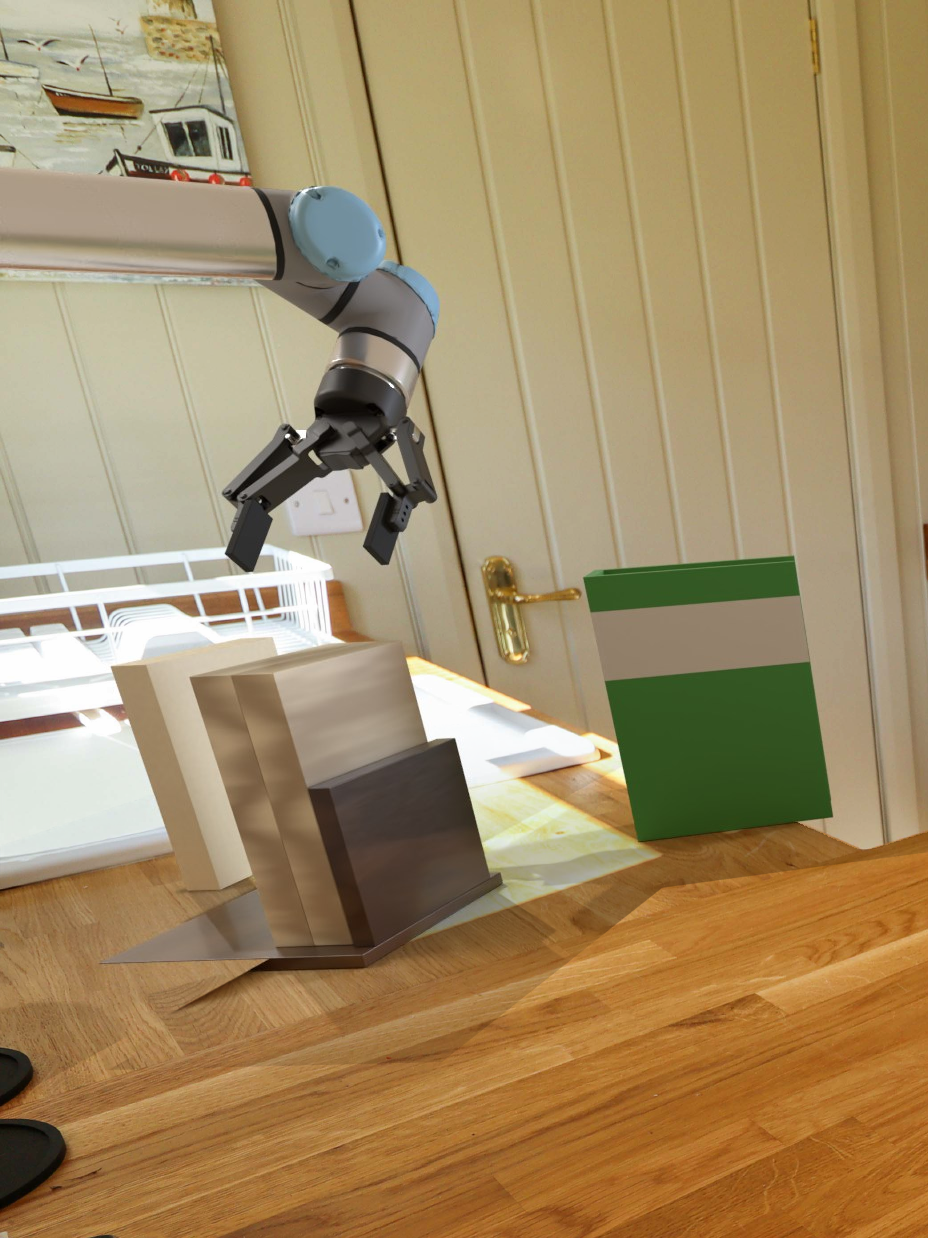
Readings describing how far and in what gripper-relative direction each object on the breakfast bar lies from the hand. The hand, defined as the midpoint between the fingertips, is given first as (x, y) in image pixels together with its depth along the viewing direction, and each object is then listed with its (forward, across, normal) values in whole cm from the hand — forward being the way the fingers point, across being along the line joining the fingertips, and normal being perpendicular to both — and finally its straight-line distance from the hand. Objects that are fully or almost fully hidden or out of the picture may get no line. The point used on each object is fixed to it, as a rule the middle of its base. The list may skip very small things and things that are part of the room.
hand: (306, 559), depth 120 cm
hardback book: (+21, -39, -16) cm, 47 cm away
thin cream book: (+29, 0, -7) cm, 30 cm away
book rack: (+39, -15, +3) cm, 42 cm away
